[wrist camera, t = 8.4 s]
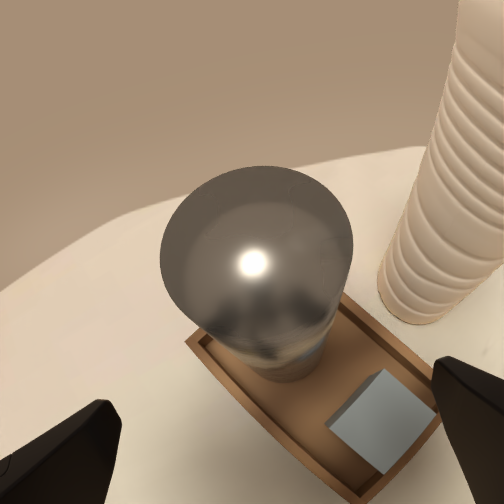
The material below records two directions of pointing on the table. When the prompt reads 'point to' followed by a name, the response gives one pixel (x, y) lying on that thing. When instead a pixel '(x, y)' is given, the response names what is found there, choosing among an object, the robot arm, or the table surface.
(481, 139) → the water bottle
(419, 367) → the walnut tray
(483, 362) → the table surface
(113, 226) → the table surface
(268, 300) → the metal cylinder
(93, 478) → the robot arm
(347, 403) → the pale grey cube
